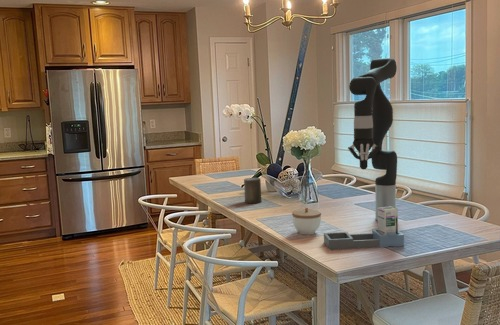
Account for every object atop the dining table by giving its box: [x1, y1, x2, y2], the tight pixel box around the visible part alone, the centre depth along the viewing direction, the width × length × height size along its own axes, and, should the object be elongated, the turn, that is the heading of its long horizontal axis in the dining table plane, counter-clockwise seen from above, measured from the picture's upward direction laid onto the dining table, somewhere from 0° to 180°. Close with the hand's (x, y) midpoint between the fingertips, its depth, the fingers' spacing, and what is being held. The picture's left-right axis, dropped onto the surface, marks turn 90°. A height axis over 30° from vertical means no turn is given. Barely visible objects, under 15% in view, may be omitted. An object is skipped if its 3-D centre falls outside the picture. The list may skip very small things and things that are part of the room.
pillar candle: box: [243, 177, 262, 204], centre depth 275 cm, size 10×10×15 cm
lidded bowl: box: [291, 207, 322, 236], centre depth 209 cm, size 13×13×11 cm
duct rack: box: [323, 228, 405, 251], centre depth 189 cm, size 12×30×5 cm, turn 93°
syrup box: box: [377, 206, 399, 235], centre depth 189 cm, size 6×6×14 cm
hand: (363, 169), depth 195 cm, fingers closed
